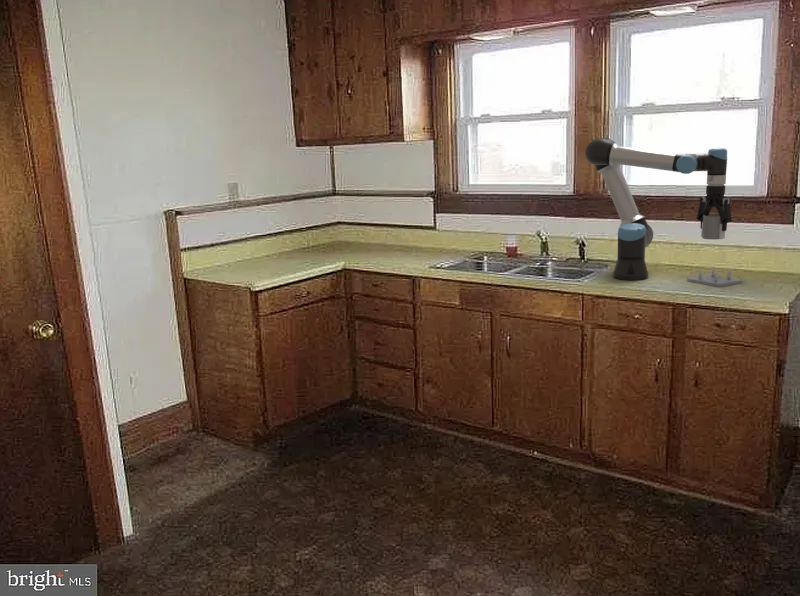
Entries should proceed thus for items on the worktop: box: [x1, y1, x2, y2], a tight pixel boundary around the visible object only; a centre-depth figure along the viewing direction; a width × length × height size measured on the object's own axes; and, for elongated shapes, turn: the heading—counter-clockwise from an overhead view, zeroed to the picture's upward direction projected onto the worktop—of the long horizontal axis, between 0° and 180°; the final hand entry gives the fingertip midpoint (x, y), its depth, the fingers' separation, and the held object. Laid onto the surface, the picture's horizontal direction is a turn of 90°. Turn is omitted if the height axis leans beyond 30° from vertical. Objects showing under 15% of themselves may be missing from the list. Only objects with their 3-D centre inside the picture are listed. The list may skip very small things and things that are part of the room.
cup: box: [701, 213, 722, 240], centre depth 309 cm, size 8×8×10 cm
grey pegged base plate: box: [686, 266, 743, 288], centre depth 300 cm, size 16×14×5 cm
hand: (712, 237), depth 310 cm, fingers closed on cup, 8 cm apart
